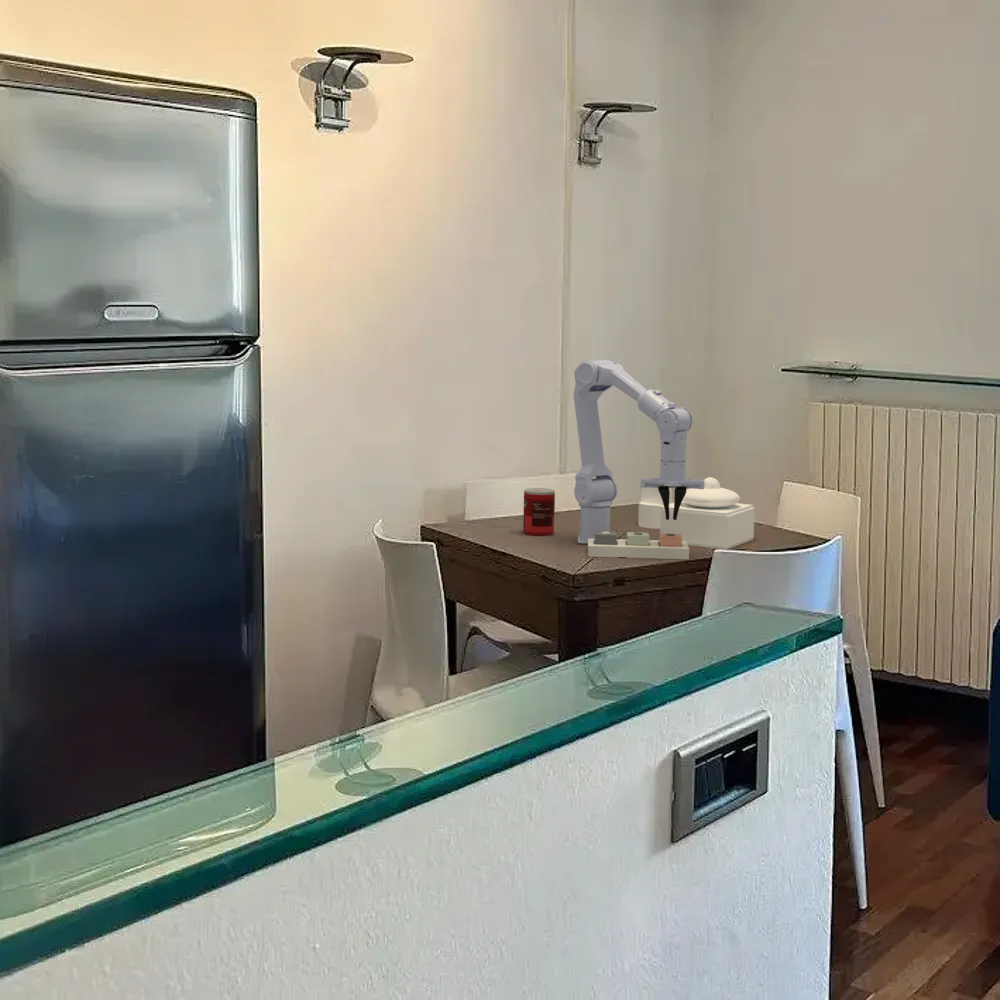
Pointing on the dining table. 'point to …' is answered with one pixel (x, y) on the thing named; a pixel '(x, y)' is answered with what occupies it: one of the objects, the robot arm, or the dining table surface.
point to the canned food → (539, 511)
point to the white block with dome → (711, 518)
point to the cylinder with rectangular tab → (651, 507)
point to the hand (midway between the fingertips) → (671, 519)
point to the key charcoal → (605, 538)
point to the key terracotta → (670, 539)
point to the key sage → (638, 538)
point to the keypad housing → (638, 550)
